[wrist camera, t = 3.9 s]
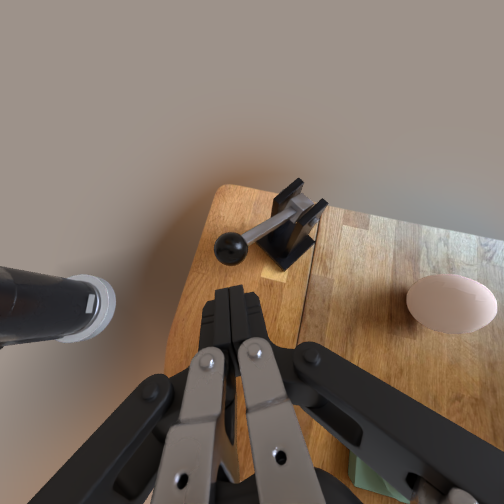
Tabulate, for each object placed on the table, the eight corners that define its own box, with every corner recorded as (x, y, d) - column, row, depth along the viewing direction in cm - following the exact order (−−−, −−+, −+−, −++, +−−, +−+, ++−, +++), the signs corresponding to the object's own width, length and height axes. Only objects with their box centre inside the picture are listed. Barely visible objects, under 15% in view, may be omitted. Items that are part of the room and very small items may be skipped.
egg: (420, 341, 35) (494, 354, 24) (382, 299, 37) (435, 292, 26) (455, 310, 37) (540, 308, 26) (416, 270, 39) (479, 253, 28)
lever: (225, 278, 20) (234, 260, 17) (204, 254, 21) (210, 233, 18) (306, 220, 29) (319, 203, 27) (289, 205, 30) (300, 187, 27)
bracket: (284, 271, 39) (302, 245, 24) (254, 241, 41) (253, 199, 26) (313, 243, 41) (348, 202, 25) (284, 216, 42) (299, 161, 27)
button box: (426, 497, 30) (451, 524, 26) (347, 474, 31) (360, 497, 27) (426, 431, 32) (450, 447, 28) (352, 411, 33) (365, 424, 29)
